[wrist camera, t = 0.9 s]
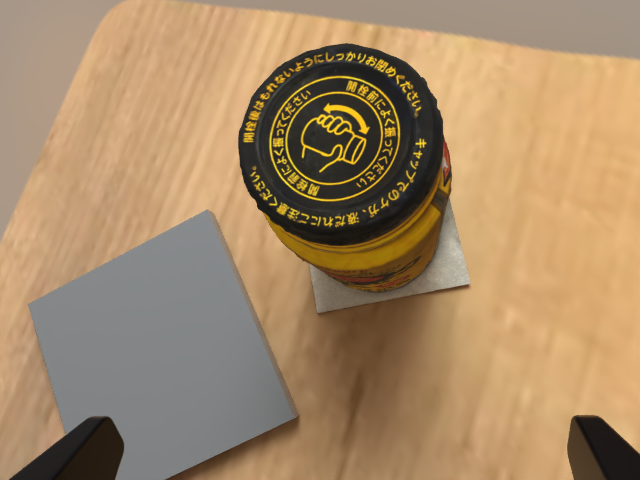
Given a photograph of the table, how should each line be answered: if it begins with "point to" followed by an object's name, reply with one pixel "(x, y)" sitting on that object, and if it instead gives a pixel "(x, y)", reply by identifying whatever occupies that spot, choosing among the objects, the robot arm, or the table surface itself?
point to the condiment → (354, 175)
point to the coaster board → (164, 352)
